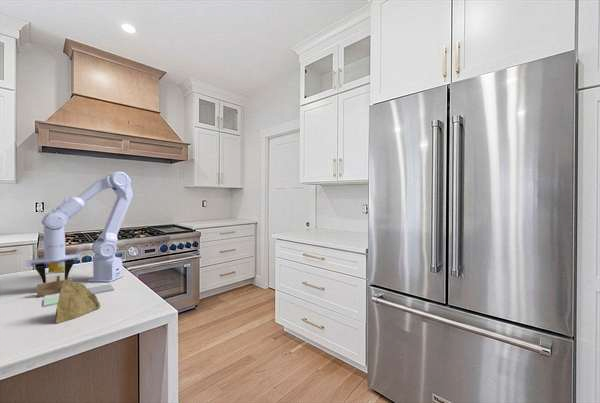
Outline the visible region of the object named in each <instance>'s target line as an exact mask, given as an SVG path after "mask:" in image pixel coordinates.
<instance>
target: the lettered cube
mask: <svg viewBox="0 0 600 403" xmlns="http://www.w3.org/2000/svg"><path fill="white" fill-rule="evenodd" d="M45 275H46V283H49V282H55V281H61V280H65V272H64V270H62V271H55V272H49V271H47V272H45Z"/></svg>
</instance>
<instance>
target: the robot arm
mask: <svg viewBox="0 0 600 403" xmlns="http://www.w3.org/2000/svg"><path fill="white" fill-rule="evenodd" d="M131 184H132V179H131V178H130V177H129V175H128V174H127V173H125V172H123V171H115V172H114V171H113V172H108V173H107V174H106V175H104V176H102V177H100V178H99V179H97V180H96V181H94V182H93V183H92V184H91V185H90V186H89V187H88V188H87V189H85V190H84V191H82V192H81V193H80V194H79V195H78V196H71V197H69V198H67V197H66V198H64V199H63V202H62V203H61V204H59V205H58V206H57V207H55V208H54V207H53V208H52V209H51V212H48V213H46V214H45V215H44V216H42V219H41V224H42V225H43V227H44V228H43V257H41V258H35V259H33V258H32V259H27V260H26V268H28V267H33V266H34V267H35V270H36V271H37V273H38V274H39V276H40V278H41V280H42V281H41V282H42V283H46V265H48V264H50V263H58V262H65V280H68V277H69V274H70V271H71V269H72V268H73V265H74V263H75V261H81V260H82V255H81V254H80V253H79V254H68V255H67V254H66V232H65V226H66V225H67V223H68V220H71V219H72V218H73V217H75V216H76V215H77V214H78V213H79V212H81V211H82V210H84V209H85V203H86V202H88V201H89V200H92V198H93V197H95V196H96V195H98V194H100V192H102V191H104V190H106V189H112V190H113V192H114V193H115V195H116V196H117V197H116V199H115V201H114V204H113V206H112V208H111V211H110V214H109V216H108V218H107V221H106V223H105V225H104V228H103V230H102V232H101V233H100V234H99V236H98V238H97V239H96V240H95V241H94V242H93V243H92V245H91V251H92V253H94V255H93V257H92V260H93V261H92V262H93V263H92V265H93V266H92V267H93V268H92V273H93V275H92V277H93V278H89V279H87V282H98V283H99V282H100V283H103V282H106V283H111V282H113V281H116V280H117V279H120V278H123V277H124V274H123V260H122V258H121V257H117V256H116V253H117V250H118V248H117V244H118V234H119V232H120V229H121V226H122V224H123V221H124V219H125V216H126V213H127V211H128V208H129V206H130V204H131V202H132V198H133V196H134V194H133V188H132V185H131ZM60 260H61V261H60Z"/></svg>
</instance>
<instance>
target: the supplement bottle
mask: <svg viewBox="0 0 600 403" xmlns="http://www.w3.org/2000/svg"><path fill="white" fill-rule="evenodd" d="M60 261H61V260H60ZM47 265H48V272H55V271H62V270H64V272H65V262H58V263H50V264H47Z"/></svg>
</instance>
